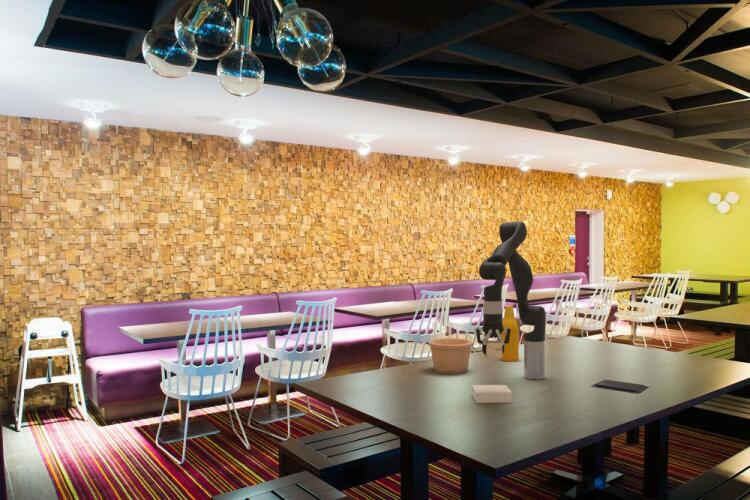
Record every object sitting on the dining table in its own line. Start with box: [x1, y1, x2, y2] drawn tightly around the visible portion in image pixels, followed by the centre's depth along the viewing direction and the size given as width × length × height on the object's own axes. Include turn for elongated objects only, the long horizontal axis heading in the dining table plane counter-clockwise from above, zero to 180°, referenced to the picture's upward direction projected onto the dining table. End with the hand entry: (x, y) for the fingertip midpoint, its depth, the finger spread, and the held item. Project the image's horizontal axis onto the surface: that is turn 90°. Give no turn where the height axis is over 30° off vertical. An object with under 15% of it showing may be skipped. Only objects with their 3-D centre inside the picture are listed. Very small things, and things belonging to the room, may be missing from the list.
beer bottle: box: [500, 305, 520, 362], centre depth 304 cm, size 9×9×29 cm
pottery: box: [427, 337, 474, 375], centre depth 280 cm, size 22×22×14 cm
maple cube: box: [483, 339, 502, 359], centre depth 227 cm, size 6×6×6 cm
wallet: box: [590, 379, 650, 395], centre depth 244 cm, size 20×2×15 cm
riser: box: [471, 384, 513, 404], centre depth 228 cm, size 12×14×4 cm
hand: (493, 353), depth 227 cm, fingers closed on maple cube, 6 cm apart
